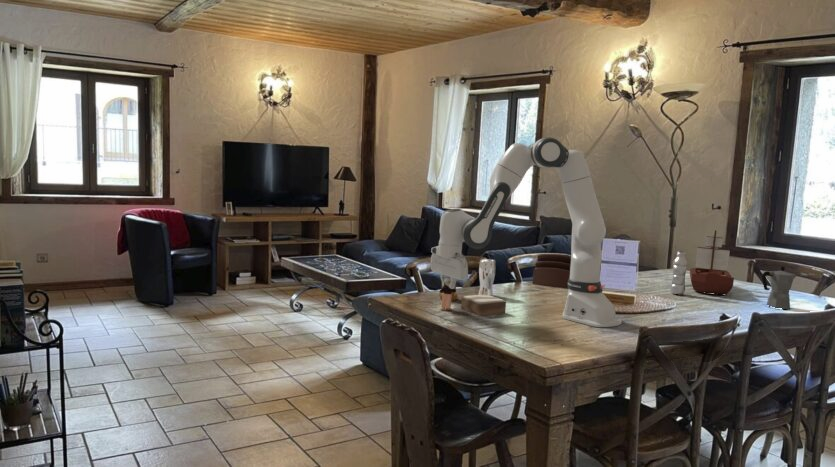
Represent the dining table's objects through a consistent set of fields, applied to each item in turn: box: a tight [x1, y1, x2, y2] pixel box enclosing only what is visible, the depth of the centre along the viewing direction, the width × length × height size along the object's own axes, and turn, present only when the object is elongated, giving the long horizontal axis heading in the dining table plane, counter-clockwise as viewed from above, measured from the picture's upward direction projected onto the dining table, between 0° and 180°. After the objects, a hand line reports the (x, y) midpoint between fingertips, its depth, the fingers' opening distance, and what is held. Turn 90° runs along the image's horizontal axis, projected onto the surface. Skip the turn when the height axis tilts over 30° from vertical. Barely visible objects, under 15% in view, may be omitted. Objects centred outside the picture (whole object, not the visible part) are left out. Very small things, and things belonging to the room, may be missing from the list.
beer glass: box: [478, 258, 496, 297], centre depth 274 cm, size 7×7×15 cm
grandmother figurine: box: [437, 276, 458, 311], centre depth 244 cm, size 8×4×13 cm, turn 118°
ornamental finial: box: [439, 282, 459, 302], centre depth 263 cm, size 8×8×8 cm
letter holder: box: [532, 253, 571, 289], centre depth 305 cm, size 10×20×14 cm, turn 69°
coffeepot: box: [761, 266, 798, 310], centre depth 277 cm, size 15×9×18 cm, turn 92°
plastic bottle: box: [670, 250, 689, 296], centre depth 295 cm, size 6×7×20 cm
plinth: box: [460, 294, 507, 317], centre depth 245 cm, size 12×12×5 cm
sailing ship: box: [689, 230, 735, 295], centre depth 312 cm, size 18×40×29 cm, turn 159°
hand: (448, 287), depth 244 cm, fingers closed on grandmother figurine, 3 cm apart
